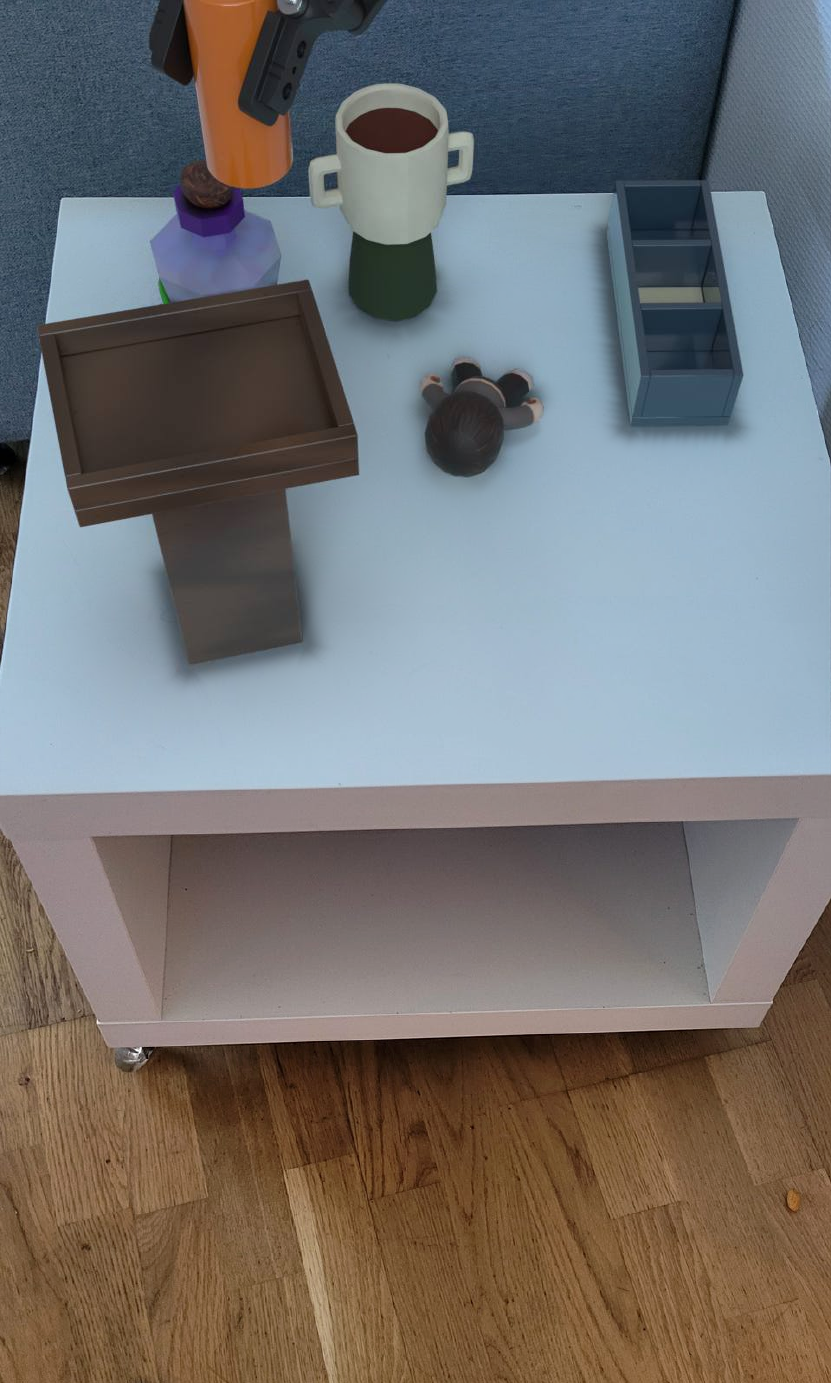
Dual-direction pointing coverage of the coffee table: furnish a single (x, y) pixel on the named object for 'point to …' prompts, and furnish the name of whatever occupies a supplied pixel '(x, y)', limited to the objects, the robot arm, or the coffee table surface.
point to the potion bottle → (212, 241)
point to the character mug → (391, 192)
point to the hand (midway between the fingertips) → (212, 95)
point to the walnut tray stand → (205, 445)
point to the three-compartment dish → (672, 304)
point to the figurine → (475, 416)
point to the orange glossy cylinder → (233, 93)
